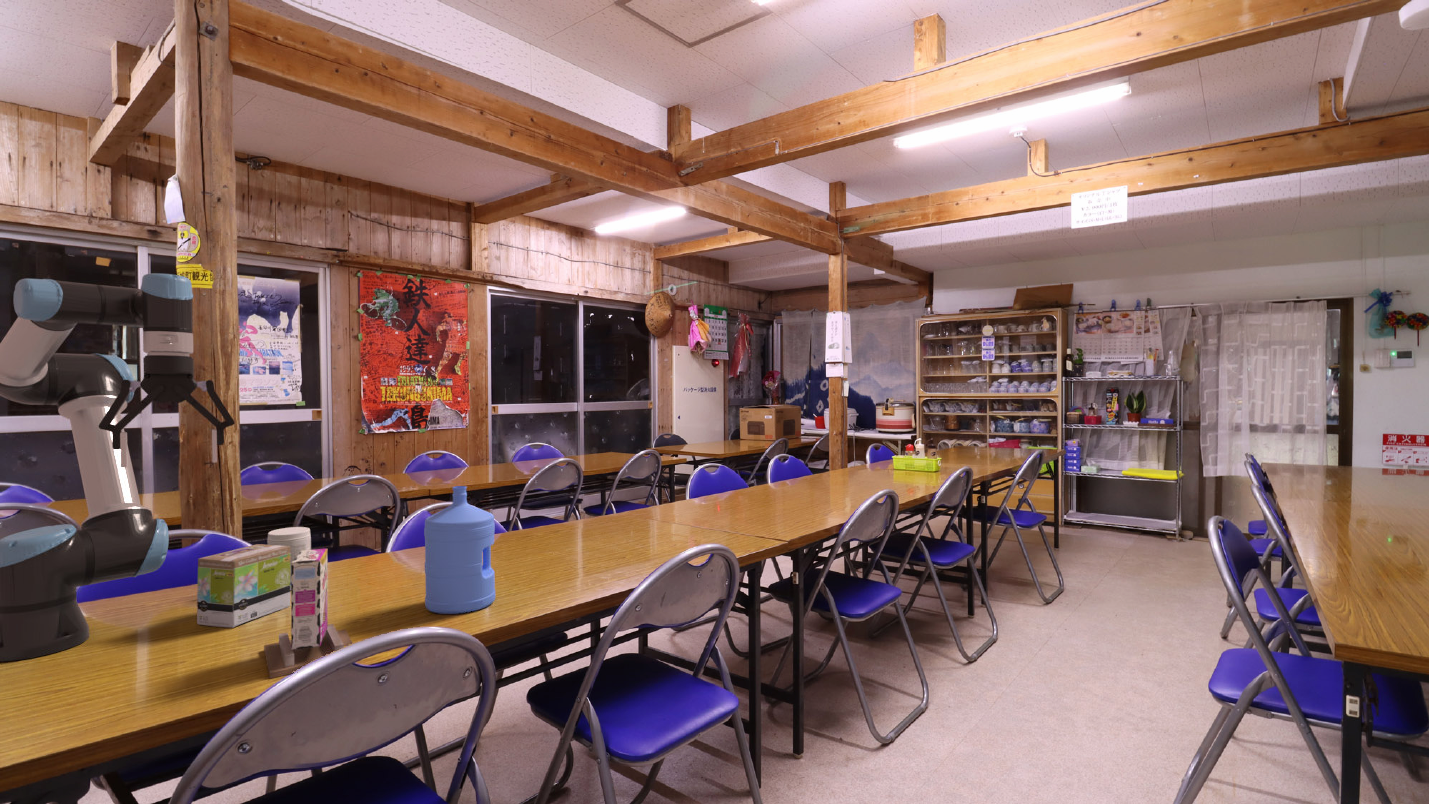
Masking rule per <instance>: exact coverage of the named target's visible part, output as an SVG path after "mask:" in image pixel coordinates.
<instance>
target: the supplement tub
mask: <svg viewBox="0 0 1429 804" xmlns="http://www.w3.org/2000/svg"><path fill="white" fill-rule="evenodd" d="M311 534H312V533H311V529H310V528H309V527H304V526H293V527H292V526H291V527H285V528H279V529H274V530H271V531H269V532H268V533H267V540H266V541H267V545H279V546H290V554H291V555H290V591H291V563H292V561H293V560H294V559H295V558H296V556H297V555H298V554H299V553H300V551H302V550H312V537H311Z"/></svg>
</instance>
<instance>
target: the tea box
mask: <svg viewBox="0 0 1429 804" xmlns="http://www.w3.org/2000/svg"><path fill="white" fill-rule="evenodd" d="M290 555H291V554H290V546H279V545H268V544H262V543H261V544H258V543H256V544H252V545H248V546H245V547H239V548H235V549H233V550H228V551H224V552H221V553H216V554H211V555H207V556H203V557H200V558H197V597H196V598H197V600H196V601H197V602H196V603H197V606H196V607H197V608H196V609H197V610H196V611H197V612H196V613H197V614H196V618H197V619H196V623H197V625H200V626H208V627H218V628H235V627H238V626H240V625H242V624H244V623H248V622H249V621H253V620H255V619H258V618H261V617H264V616H267V615H271V614H272V613H276V612H278V611H282V610H284V609H287V608H290V607H291V590H290Z"/></svg>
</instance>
